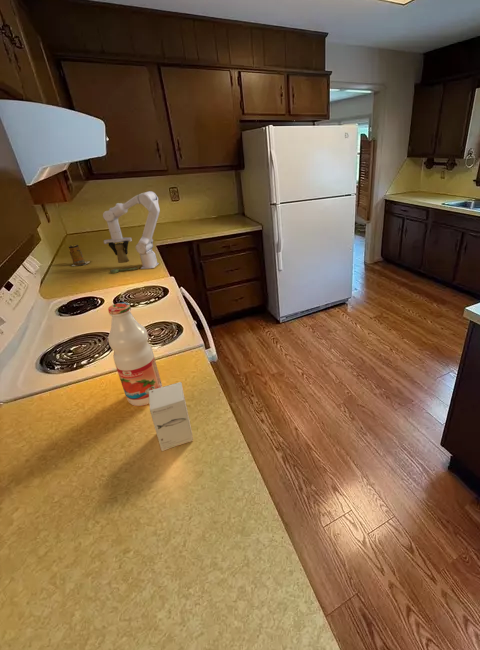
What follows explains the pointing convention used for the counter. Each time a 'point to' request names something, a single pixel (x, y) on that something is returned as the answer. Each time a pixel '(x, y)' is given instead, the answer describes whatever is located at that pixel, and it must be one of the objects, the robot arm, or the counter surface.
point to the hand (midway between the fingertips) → (121, 254)
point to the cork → (121, 253)
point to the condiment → (77, 255)
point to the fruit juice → (132, 355)
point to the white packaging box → (170, 416)
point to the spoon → (122, 270)
